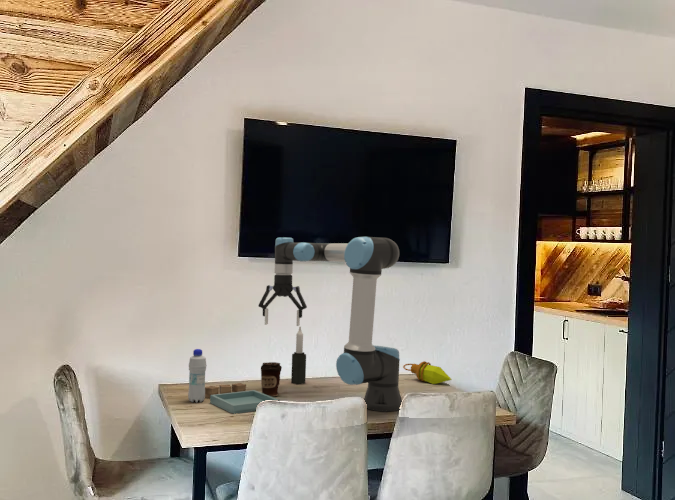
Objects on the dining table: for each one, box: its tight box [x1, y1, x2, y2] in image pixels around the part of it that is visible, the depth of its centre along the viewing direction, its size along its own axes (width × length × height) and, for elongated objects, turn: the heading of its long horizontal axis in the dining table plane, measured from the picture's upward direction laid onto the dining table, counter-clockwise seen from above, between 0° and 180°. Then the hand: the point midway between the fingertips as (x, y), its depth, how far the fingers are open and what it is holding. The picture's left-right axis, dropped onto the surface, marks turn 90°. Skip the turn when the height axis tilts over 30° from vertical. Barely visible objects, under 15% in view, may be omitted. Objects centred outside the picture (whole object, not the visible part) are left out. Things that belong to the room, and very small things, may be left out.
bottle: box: [187, 348, 207, 404], centre depth 257 cm, size 7×7×20 cm
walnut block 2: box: [218, 384, 232, 394], centre depth 268 cm, size 4×4×4 cm
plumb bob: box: [402, 360, 452, 385], centre depth 308 cm, size 9×9×25 cm
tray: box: [209, 389, 280, 415], centre depth 253 cm, size 19×19×3 cm
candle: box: [290, 326, 307, 385], centre depth 297 cm, size 5×5×25 cm
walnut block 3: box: [231, 382, 247, 393], centre depth 272 cm, size 4×4×4 cm
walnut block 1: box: [205, 385, 219, 399], centre depth 265 cm, size 4×4×4 cm
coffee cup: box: [260, 361, 282, 397], centre depth 271 cm, size 9×8×13 cm
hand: (282, 325), depth 282 cm, fingers open, 13 cm apart
